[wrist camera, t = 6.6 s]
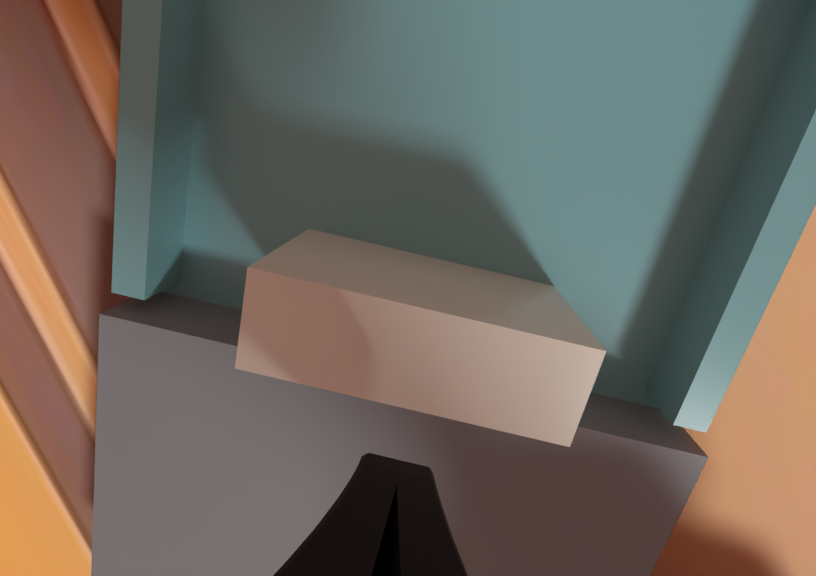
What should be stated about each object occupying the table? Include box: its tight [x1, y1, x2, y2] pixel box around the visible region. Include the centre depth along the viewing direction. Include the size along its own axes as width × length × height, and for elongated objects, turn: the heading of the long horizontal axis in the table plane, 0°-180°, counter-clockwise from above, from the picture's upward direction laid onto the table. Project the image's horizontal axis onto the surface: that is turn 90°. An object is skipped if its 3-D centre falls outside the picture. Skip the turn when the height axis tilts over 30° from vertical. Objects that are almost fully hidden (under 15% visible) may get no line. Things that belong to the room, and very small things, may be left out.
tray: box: [111, 0, 816, 433], centre depth 13 cm, size 18×14×2 cm
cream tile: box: [235, 229, 606, 447], centre depth 13 cm, size 8×5×2 cm
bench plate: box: [91, 291, 708, 576], centre depth 17 cm, size 18×12×3 cm, turn 77°
